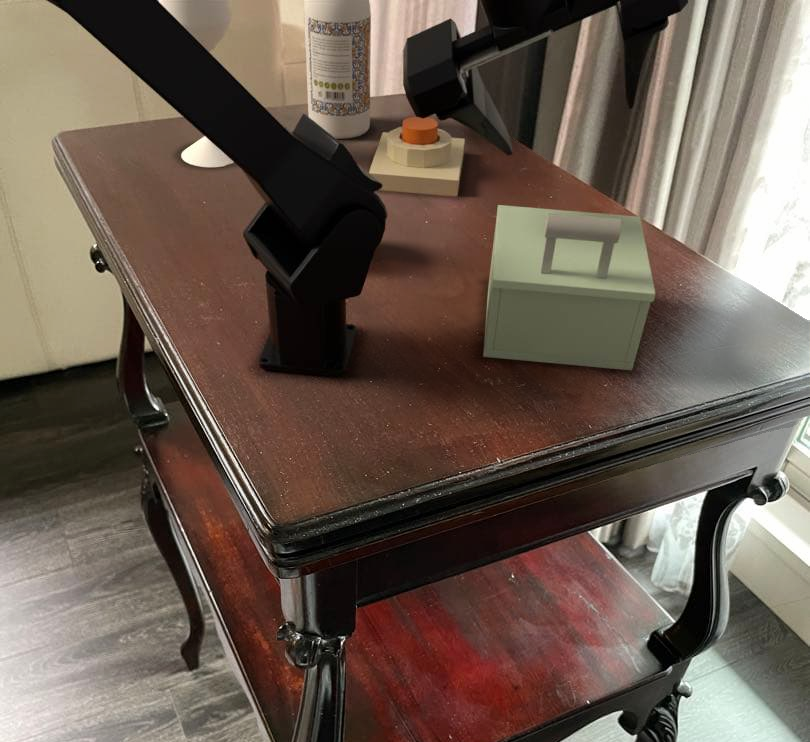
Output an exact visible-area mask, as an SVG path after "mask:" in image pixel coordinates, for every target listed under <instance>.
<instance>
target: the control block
mask: <svg viewBox="0 0 810 742" xmlns="http://www.w3.org/2000/svg"><path fill="white" fill-rule="evenodd" d="M402 127H403V126H398V127H396V128H394V129H391V130H389V131H388V132H382V133H381V136H380V139H379V142H378V144H377V147H376V151H375V154H374V156H373V159H372V163H371V165H370V168H369V172H368V173H369V174H370V175H372V176H373V177H374V178H375V179H377V180H378V181H379V182H380V183H381V184H382V188H381V189H379V190H378V191H384V192H385V191H386V192H400V193H410V194H411V193H412V194H421V195H435V196H448V197H458V194H459V188H460V181H461V174H462V169H463V168H462V167H463V163H464V162H463V161H464V155H465V142H466V138H460V137H452V135H451V134H450V133H448V132H447V131H446V130H444V129H441V128H438V134H437V142H436V143H434V144H430V145H413V144H409V143H406V142H403V141H402Z"/></svg>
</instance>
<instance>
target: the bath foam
mask: <svg viewBox="0 0 810 742" xmlns="http://www.w3.org/2000/svg"><path fill="white" fill-rule="evenodd" d="M303 6H304V7H303V20H304V21H303V22H304V42H305V43H304V44H305V45H304V46H305V65H306V67H305V69H306V91H307V94H306V95H307V109H308V110H307V111H308V112H307V113H308V117H309V118H311V119H312V120H313V121H314V122H316V123H317V124H318V125H319V126H321V127H322V128H323V129H324V130H326V131H327V132H328V133H329V134H331V135H332V136H333V137H334V138H336V139H337V140H345V139H353V138H356V137H360V136H362V135H364V134H366V133H367V132H368V130H369V129H370V125H371V57H372V55H371V52H372V51H371V49H372V48H371V45H372V43H371V40H372V39H371V38H372V35H371V33H372V32H371V31H372V27H371V26H372V21H371V20H372V13H371V3H370V0H304V5H303Z"/></svg>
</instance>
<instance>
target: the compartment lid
mask: <svg viewBox="0 0 810 742" xmlns="http://www.w3.org/2000/svg"><path fill="white" fill-rule="evenodd" d="M496 218H497V222H496V221H495V226H496V236H495V251H494V265H493V279H492V288H500V289H512V290H523V291H534V292H545V293H557V294H568V295H579V296H591V297H602V298H613V299H624V300H636V301H647V302H651V303H653V302H655V298H656V289H655V283H654V279H653V273H652V268H651V264H650V259H649V254H648V253H649V252H648V250H647V249H648V248H647V244H646V239H645V233H644V228H643V224H642V219H641V218H642V217H640V216H636V215H635V216H634V215H622V214H610V213H599V212H587V211H574V210H564V209H550V208H540V207H530V206H529V207H527V206H517V205H516V206H515V205H506V204H505V205H502V204H498V205H497V210H496Z"/></svg>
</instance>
